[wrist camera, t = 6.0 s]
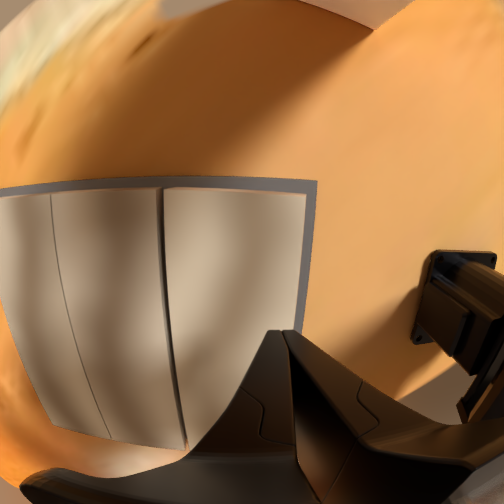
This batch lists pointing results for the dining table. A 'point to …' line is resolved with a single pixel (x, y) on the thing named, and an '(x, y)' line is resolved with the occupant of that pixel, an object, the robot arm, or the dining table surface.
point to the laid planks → (93, 311)
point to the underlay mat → (205, 182)
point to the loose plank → (227, 287)
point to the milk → (363, 9)
